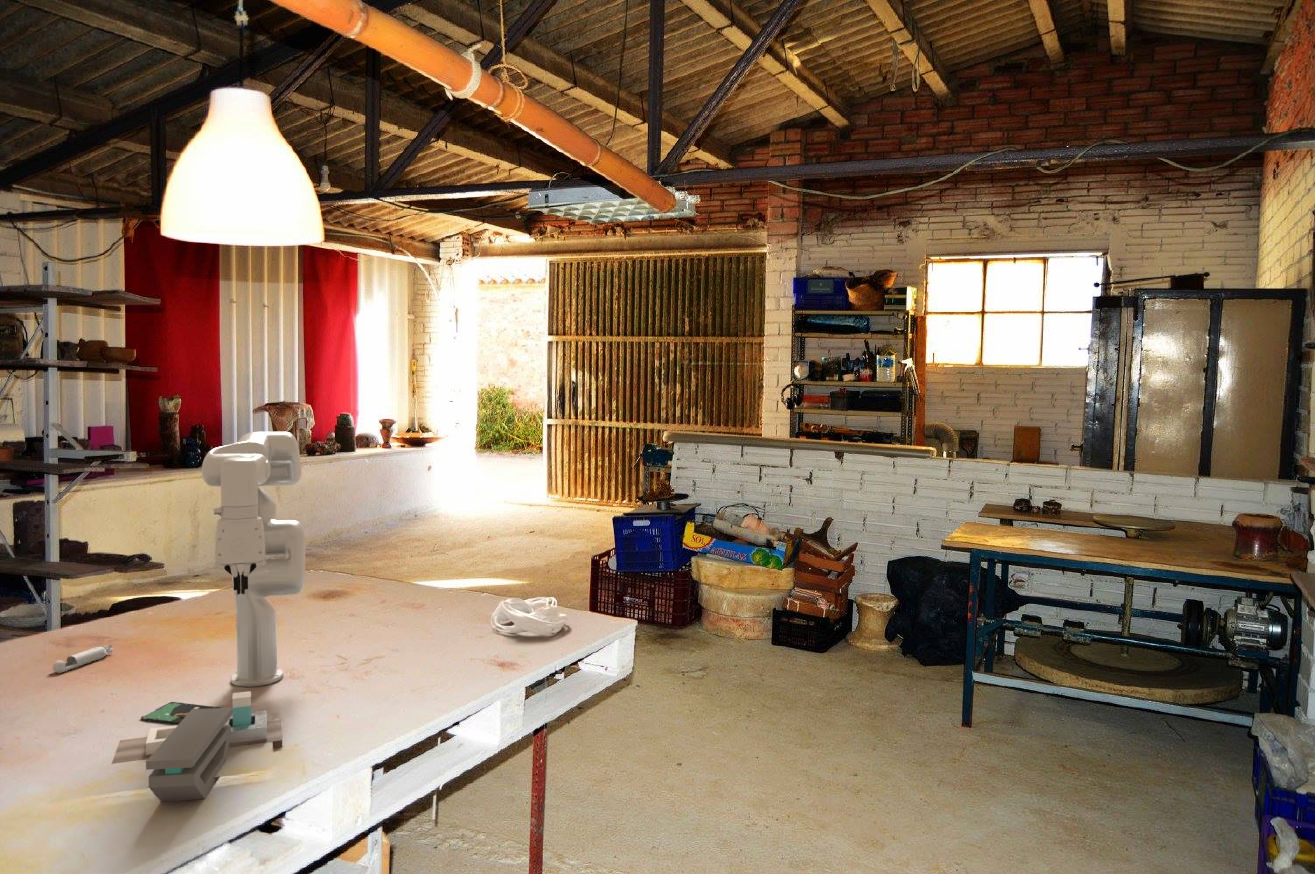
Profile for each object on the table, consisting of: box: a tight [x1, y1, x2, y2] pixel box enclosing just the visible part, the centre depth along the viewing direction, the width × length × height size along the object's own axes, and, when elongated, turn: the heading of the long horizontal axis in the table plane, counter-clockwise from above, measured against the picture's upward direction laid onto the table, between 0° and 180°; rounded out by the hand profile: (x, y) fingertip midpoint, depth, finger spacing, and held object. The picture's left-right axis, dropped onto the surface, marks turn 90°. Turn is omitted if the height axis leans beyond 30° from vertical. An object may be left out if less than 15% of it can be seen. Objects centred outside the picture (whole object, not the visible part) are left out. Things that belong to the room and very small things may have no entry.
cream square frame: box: [146, 725, 178, 755], centre depth 193 cm, size 8×8×2 cm
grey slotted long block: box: [145, 707, 233, 802], centre depth 177 cm, size 25×8×11 cm, turn 10°
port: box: [225, 710, 268, 745], centre depth 198 cm, size 10×10×3 cm
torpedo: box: [52, 635, 114, 674], centre depth 246 cm, size 18×5×7 cm, turn 166°
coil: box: [490, 596, 569, 637], centre depth 289 cm, size 25×24×9 cm
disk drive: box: [139, 701, 222, 726], centre depth 209 cm, size 10×3×15 cm
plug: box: [231, 690, 252, 727], centre depth 198 cm, size 4×4×9 cm
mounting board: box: [111, 719, 283, 764], centre depth 195 cm, size 12×32×2 cm, turn 114°
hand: (240, 592), depth 204 cm, fingers closed
